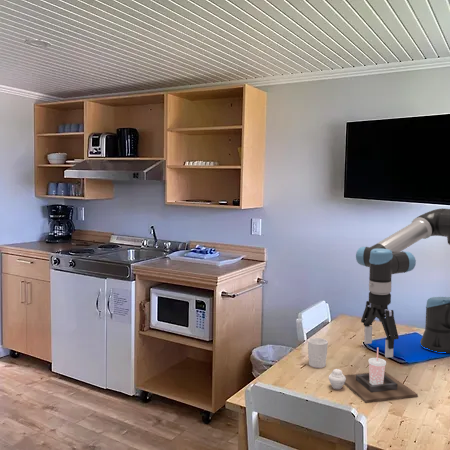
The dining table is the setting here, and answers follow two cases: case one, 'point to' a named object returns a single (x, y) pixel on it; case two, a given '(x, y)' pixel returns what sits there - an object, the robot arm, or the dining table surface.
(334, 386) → the white lidded jar
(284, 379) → the dining table surface
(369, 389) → the cup holder
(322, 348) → the white cup
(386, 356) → the robot arm
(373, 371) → the beverage cup
